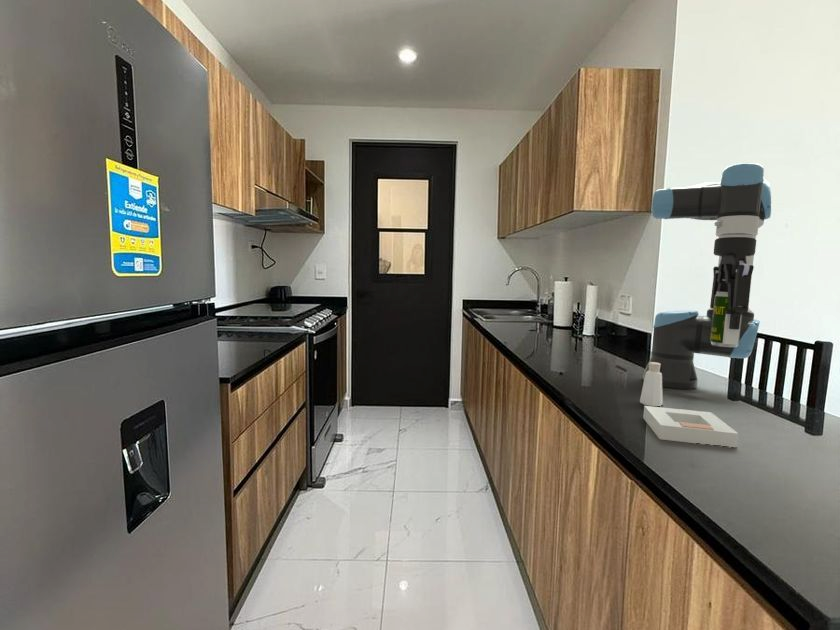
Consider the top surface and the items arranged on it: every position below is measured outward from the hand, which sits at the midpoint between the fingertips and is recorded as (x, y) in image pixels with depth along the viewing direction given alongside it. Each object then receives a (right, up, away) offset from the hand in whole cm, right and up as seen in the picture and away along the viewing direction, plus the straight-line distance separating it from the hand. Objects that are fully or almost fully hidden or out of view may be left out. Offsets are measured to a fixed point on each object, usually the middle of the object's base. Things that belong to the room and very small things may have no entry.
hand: (724, 341), depth 100 cm
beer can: (0, -1, 0) cm, 1 cm away
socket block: (-10, -19, -3) cm, 22 cm away
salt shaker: (-7, -18, +18) cm, 26 cm away
